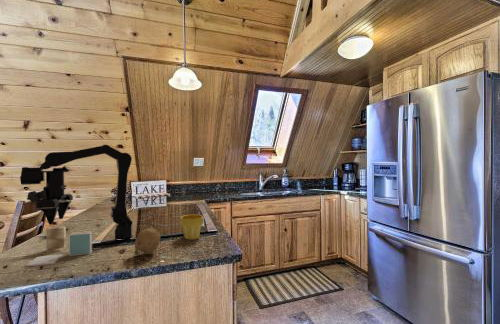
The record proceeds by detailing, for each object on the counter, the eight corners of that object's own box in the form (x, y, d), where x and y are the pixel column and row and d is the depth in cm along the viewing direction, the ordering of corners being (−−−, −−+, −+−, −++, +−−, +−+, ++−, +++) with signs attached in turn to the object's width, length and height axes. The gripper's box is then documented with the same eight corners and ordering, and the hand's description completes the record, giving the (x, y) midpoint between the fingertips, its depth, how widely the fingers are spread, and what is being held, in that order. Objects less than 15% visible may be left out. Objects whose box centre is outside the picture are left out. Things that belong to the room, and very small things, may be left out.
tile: (91, 251, 100) (91, 231, 100) (90, 253, 98) (90, 233, 98) (71, 253, 98) (71, 233, 98) (69, 255, 96) (69, 235, 96)
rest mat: (62, 255, 96) (62, 254, 96) (53, 263, 88) (53, 262, 88) (37, 258, 94) (37, 256, 94) (25, 266, 86) (25, 265, 86)
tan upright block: (67, 247, 105) (67, 225, 105) (62, 251, 101) (62, 228, 100) (50, 248, 104) (50, 226, 103) (44, 252, 99) (44, 230, 99)
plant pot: (201, 233, 124) (201, 213, 124) (204, 239, 114) (204, 218, 114) (180, 235, 121) (179, 215, 121) (181, 242, 111) (181, 220, 111)
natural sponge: (134, 260, 91) (134, 233, 91) (135, 252, 99) (134, 227, 99) (161, 256, 94) (160, 230, 94) (159, 248, 103) (159, 224, 103)
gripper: (42, 181, 108) (43, 217, 109) (17, 186, 91) (18, 229, 91) (72, 181, 112) (73, 215, 112) (53, 185, 94) (54, 226, 94)
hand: (56, 221), depth 102 cm, fingers open, 9 cm apart
